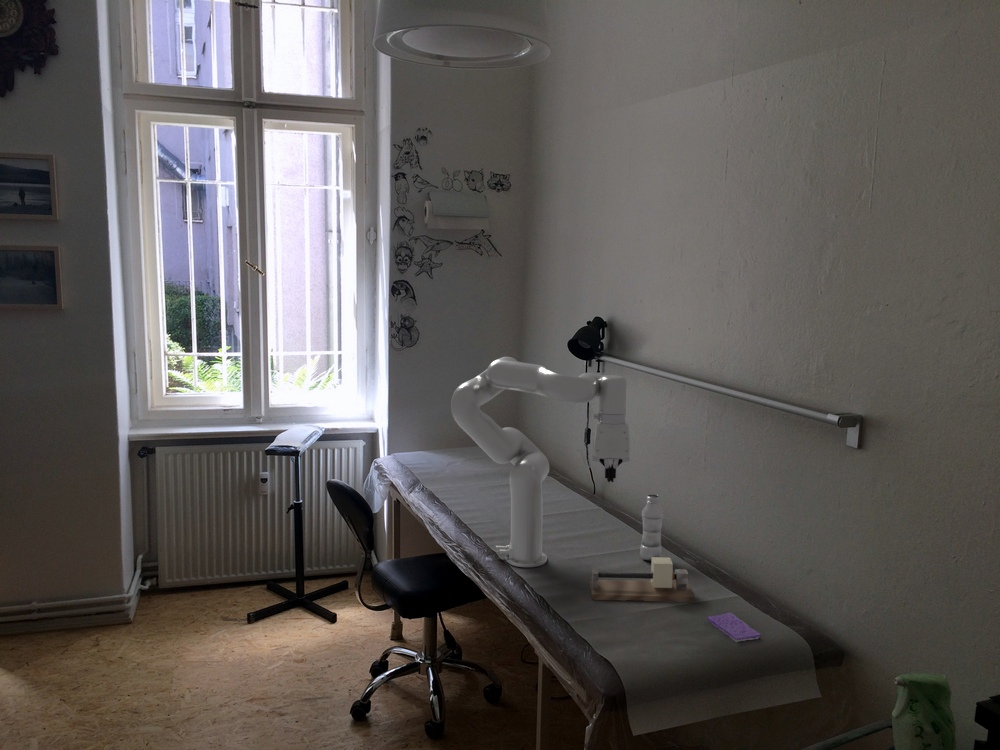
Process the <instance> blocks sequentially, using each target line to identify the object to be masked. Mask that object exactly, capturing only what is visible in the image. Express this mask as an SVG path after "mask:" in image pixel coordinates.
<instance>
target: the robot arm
mask: <svg viewBox="0 0 1000 750" xmlns="http://www.w3.org/2000/svg"><path fill="white" fill-rule="evenodd" d="M504 390H509V391H510V390H511V391H517V392H523V393H528V394H529V393H530V394H533V395H534V394H535V395H538V396H542V397H544V398H549V399H550V400H551V399H552V400H556V401H560V402H566V403H568V402H569V403H574V404H587V403H589V402H591V401H592V400H593V399H596V398H599V405H598V407H599V408H598V409H599V410H598V413H596V414H593V419H594V420H597V422H596V424H595V428H594V433H593V435H594V436H593V446H592V449H593V450H592V451H593V453H592V457H591V460H592V461H595V462H597V463H600V464H601V465H602V466H603V467H604V478H605V479H606V480H607V482H608V483H610V482H611V483H614V479H616V478H617V477H616V476H617V468H619V466H620V465H621V464H623V463H626V462H630V460H631V459H630V454H631V453H630V448H631V447H630V442H631V441H630V429H629V428H630V427H629V424H628V423H627V422H626V412H627V411H626V409H627V406H626V405H627V379H626V378H625V376H623V375H616V374H610V375H609V374H606V375H604V374H598V373H593V372H584V373H582V374H580V375H579V376H575V375H574V376H573V375H566V374H561V373H558V372H554V371H551V370H549V369H548V368H547V367H545V366H544V365H541V364H536V363H529V362H521V361H518V360H517V359H516V358H514V357H511V356H503V357H500V358H497V359H495V360H493V361H492V362H490V364H489V365H488V366H487V368H486V369H485V370H484V371H482V372H481V373H480V374H478V375H477V376H475V377H474V378H471V379H469V380H467V381H465V382H463V383H460V385H458V386H457V387H456V389H455V390H454V392H453V394H452V396H451V401H450V411H451V415H452V418H453V419H454V422H456V424H457V425H458V426H459V427H460V429H462V430H463V432H465V433H466V434H467V435H468V436H469V437H470V439H472V441H474V442H475V444H477V445H478V447H479V448H481V450H482V451H483V452H484V453H486V455H487V456H488V457H489V458H490V459H491V460H492V461H493V462H495V463H497V464H500V465H506V464H508V463H511V464H512V465H513V466H512V467H511V470H510V472H509V479H508V480H509V490H510V542H509V544H506V545H495V552H496V553H499V555H505V556H504V557H505V562H506V563H508V564H509V565H511V566H514V567H518V568H535V567H540V566H543V565H545V563H547V562H548V560H547V559H548V556H547V555H546V553H545V552H543V519H544V518H543V512H544V511H543V502H544V501H543V491H542V490H543V488H542V486H543V485H542V484H543V482H544V480H545V479H546V478H547V476H548V475H549V472H550V463H549V460H548V458H547V456H546V455H545V454H544V453H543V452H542V451H541V450H540V448H538V447H537V446H536V445H535V444H534V442H532V441H531V440H530V439H529V438H528V437H527V436H526V435H525V434H524V433H523V432H521V431H520V430H519V429H517V428H515V427H509V426H505V427H503V428H502V427H501V426H500V425H498V424H497V422H496V421H495V420H494V419H493V418H492V417H491V416H489V415H488V414H487V413H485V412H484V411H482V410H481V408H480V407H481V406H483V405H484V404H486V403H488V402H490V401H491V400H492V399H493V398H495V397H496V396H497V395H499V394H501V393H502V392H503V391H504ZM609 460H612V463H611V465H610V463H609Z"/></svg>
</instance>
